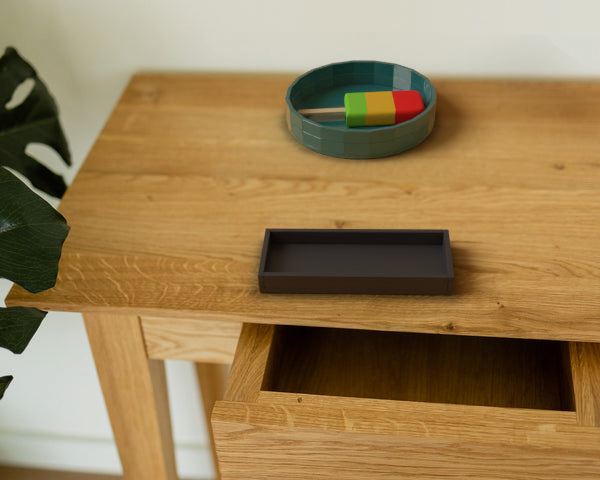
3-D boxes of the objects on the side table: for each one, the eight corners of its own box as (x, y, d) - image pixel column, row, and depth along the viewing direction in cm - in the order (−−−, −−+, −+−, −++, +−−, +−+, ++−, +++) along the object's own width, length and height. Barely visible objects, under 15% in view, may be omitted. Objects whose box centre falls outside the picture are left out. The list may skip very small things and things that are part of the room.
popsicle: (425, 124, 89) (427, 110, 88) (298, 130, 90) (297, 116, 88) (419, 102, 93) (420, 88, 92) (297, 108, 94) (297, 94, 92)
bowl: (432, 86, 97) (434, 60, 95) (436, 160, 84) (438, 132, 82) (295, 85, 99) (294, 59, 97) (279, 157, 86) (277, 130, 84)
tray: (446, 246, 73) (448, 229, 72) (452, 295, 68) (454, 277, 67) (267, 245, 75) (265, 228, 73) (259, 292, 69) (257, 275, 68)
